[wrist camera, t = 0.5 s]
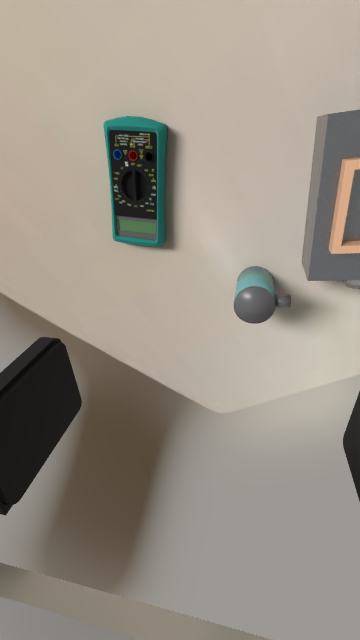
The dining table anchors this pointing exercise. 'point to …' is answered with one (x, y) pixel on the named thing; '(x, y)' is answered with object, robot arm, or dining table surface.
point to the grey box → (334, 201)
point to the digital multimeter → (137, 179)
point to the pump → (257, 296)
